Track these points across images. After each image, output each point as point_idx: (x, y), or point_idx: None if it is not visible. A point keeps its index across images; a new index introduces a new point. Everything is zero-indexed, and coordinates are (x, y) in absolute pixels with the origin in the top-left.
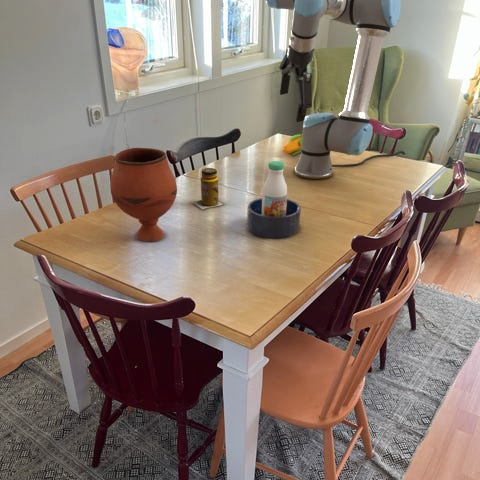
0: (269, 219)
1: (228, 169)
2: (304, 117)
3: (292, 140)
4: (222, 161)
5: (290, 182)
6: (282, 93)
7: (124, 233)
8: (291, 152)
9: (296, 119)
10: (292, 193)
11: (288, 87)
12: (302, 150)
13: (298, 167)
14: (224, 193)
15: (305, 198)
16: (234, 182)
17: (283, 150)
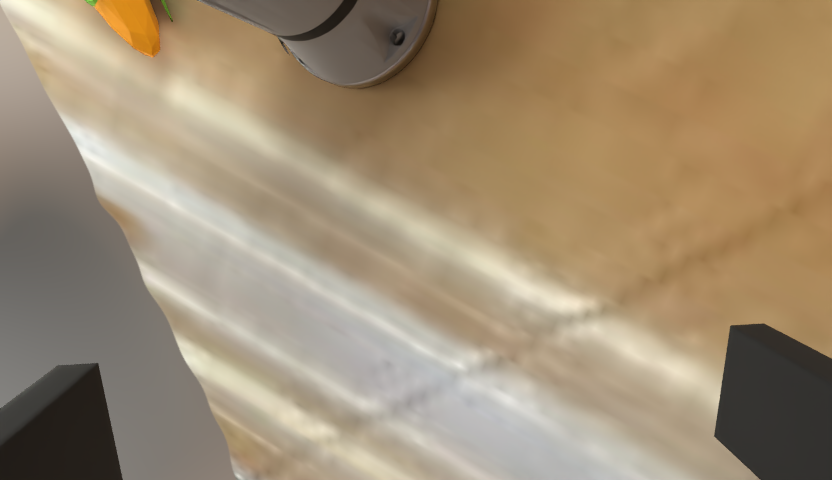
0: None
1: (231, 315)
2: (814, 359)
3: None
4: (161, 296)
5: (423, 150)
6: (105, 469)
7: None
8: (154, 14)
9: (747, 457)
10: (548, 203)
11: (11, 447)
12: (291, 36)
13: (342, 75)
14: (444, 457)
15: (632, 174)
16: (352, 363)
17: (153, 54)
